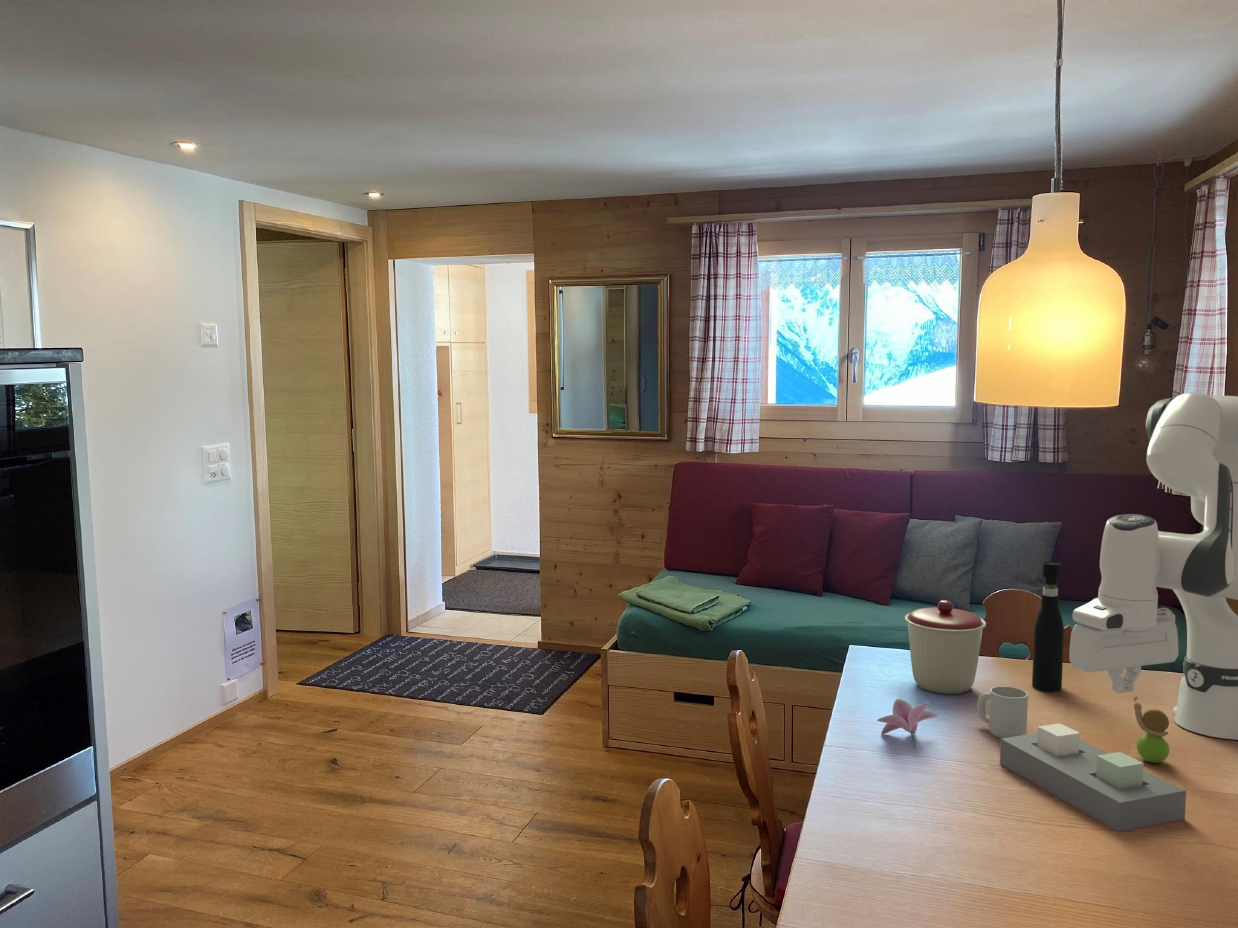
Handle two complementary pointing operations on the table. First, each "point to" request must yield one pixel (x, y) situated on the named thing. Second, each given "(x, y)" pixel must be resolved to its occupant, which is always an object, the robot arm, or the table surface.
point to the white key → (1058, 740)
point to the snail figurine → (1152, 734)
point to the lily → (906, 717)
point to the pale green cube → (1119, 770)
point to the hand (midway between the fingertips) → (1123, 691)
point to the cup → (1005, 711)
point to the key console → (1094, 785)
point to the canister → (944, 647)
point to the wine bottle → (1048, 635)
